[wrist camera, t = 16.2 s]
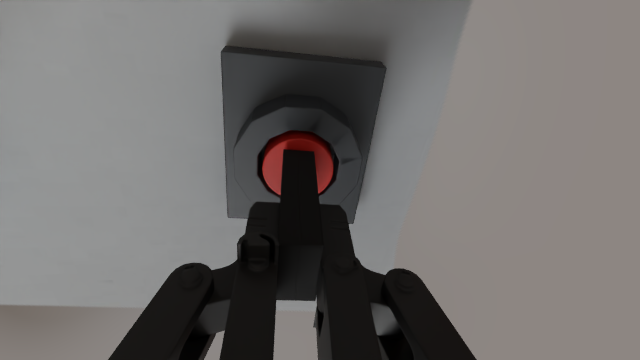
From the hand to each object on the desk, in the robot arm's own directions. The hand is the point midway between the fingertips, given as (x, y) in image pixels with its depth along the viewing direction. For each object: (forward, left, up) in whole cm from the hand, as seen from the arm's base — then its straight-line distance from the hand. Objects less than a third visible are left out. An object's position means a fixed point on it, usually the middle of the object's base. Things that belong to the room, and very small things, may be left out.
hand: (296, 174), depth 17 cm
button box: (0, 0, -4) cm, 4 cm away
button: (0, 0, -2) cm, 2 cm away
